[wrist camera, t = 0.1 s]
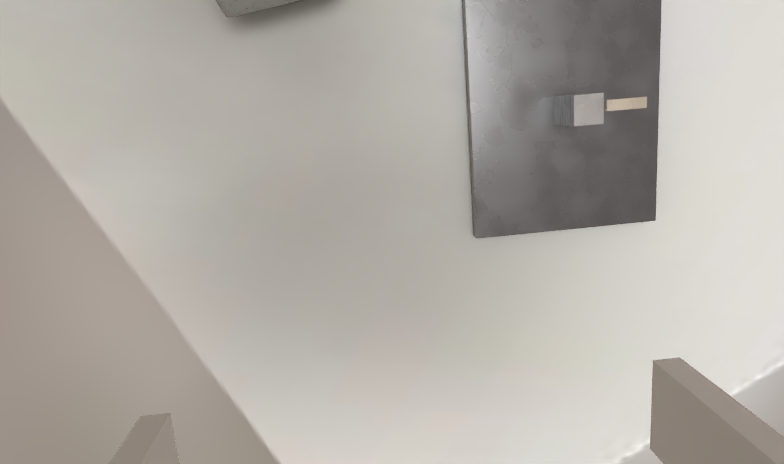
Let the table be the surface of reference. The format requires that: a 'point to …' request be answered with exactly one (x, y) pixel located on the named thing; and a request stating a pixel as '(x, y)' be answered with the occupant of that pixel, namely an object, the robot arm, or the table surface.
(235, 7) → the ceramic mug
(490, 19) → the metal panel
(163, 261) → the table surface
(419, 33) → the table surface
